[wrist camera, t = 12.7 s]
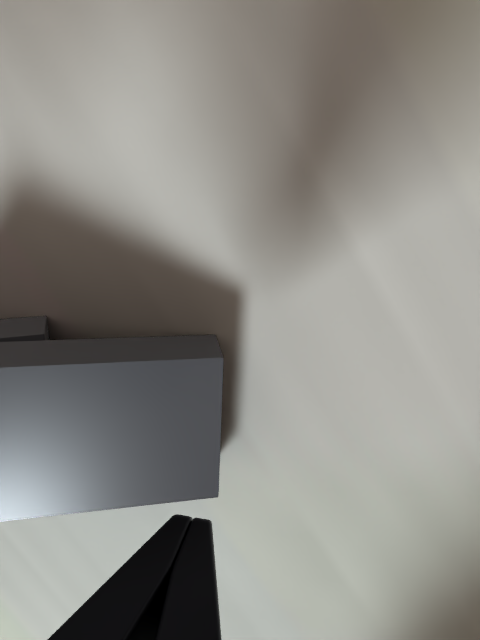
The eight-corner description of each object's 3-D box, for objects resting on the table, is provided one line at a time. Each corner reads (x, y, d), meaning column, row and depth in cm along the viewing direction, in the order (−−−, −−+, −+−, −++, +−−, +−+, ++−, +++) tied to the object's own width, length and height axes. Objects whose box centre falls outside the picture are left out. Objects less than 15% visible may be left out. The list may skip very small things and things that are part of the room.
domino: (223, 357, 11) (-108, 372, 10) (218, 497, 13) (-62, 528, 12) (215, 334, 13) (-74, 344, 11) (211, 463, 15) (-38, 486, 13)
